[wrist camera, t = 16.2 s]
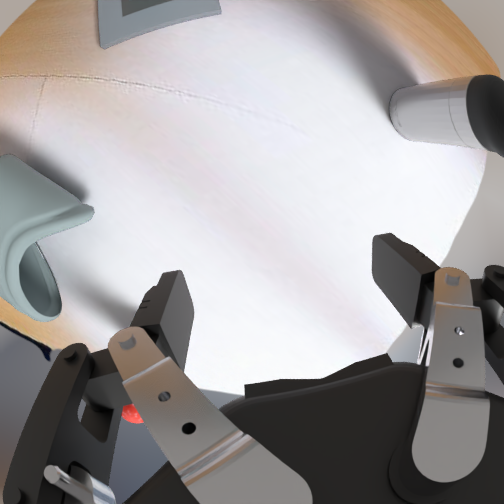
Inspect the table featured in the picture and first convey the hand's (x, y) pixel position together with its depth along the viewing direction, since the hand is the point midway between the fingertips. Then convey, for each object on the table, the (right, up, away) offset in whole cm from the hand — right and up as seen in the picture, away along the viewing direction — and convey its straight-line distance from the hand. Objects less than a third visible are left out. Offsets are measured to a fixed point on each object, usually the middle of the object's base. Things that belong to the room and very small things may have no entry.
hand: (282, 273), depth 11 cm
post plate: (-16, +41, +14) cm, 46 cm away
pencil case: (-37, +5, +27) cm, 46 cm away
